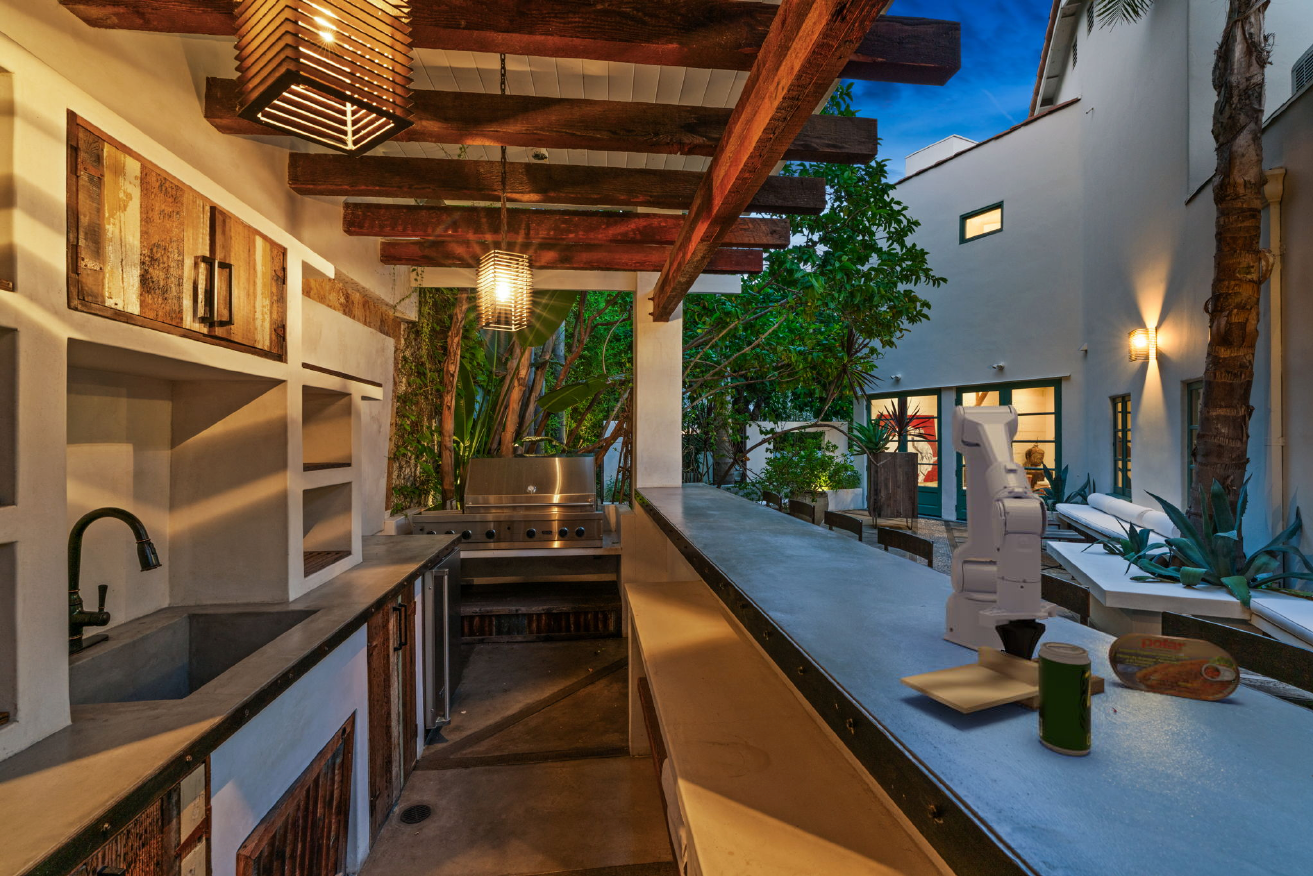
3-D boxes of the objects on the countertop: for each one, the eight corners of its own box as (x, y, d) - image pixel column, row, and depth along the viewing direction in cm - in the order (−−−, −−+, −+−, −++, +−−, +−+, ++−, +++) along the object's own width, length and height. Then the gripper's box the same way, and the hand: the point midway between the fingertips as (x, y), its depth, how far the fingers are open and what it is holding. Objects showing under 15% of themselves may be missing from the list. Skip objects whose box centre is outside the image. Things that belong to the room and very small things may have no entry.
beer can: (1046, 753, 73) (1045, 653, 73) (1033, 733, 78) (1032, 639, 78) (1098, 760, 71) (1098, 658, 71) (1081, 739, 76) (1081, 643, 77)
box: (970, 684, 94) (970, 671, 94) (1039, 669, 100) (1038, 657, 100) (1033, 710, 84) (1033, 696, 84) (1104, 691, 91) (1104, 678, 91)
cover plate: (900, 683, 88) (900, 659, 88) (981, 666, 95) (981, 643, 95) (964, 713, 78) (964, 686, 79) (1049, 692, 85) (1049, 667, 85)
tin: (1110, 687, 93) (1110, 631, 93) (1106, 679, 96) (1106, 626, 96) (1241, 707, 86) (1241, 647, 86) (1233, 698, 89) (1232, 640, 89)
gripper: (1010, 589, 84) (1011, 687, 84) (1077, 579, 90) (1077, 671, 90) (966, 578, 91) (966, 669, 91) (1031, 570, 97) (1031, 656, 96)
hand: (1018, 669), depth 91 cm, fingers closed
